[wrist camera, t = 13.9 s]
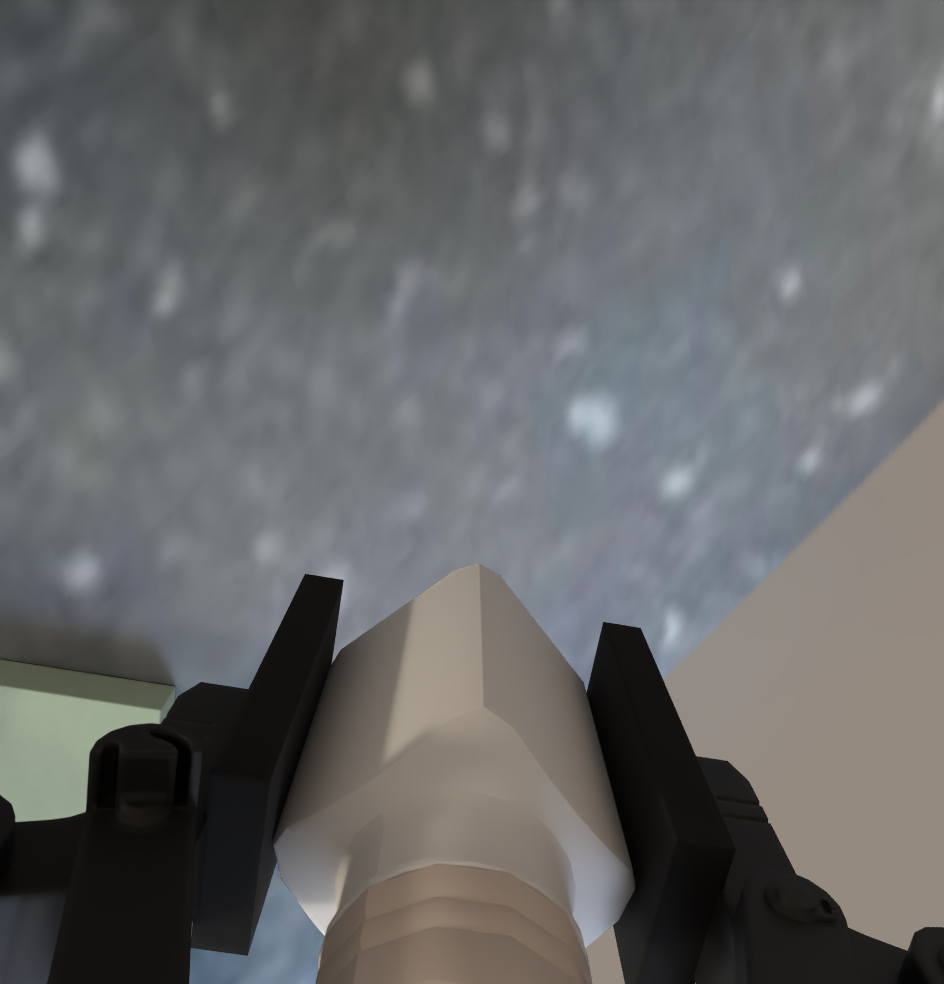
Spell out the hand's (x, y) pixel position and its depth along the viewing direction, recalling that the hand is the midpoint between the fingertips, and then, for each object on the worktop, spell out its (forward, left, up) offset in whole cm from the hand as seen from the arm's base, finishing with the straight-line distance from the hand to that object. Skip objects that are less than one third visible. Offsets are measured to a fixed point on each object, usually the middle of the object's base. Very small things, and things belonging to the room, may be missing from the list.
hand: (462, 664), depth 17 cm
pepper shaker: (0, 0, -1) cm, 1 cm away
